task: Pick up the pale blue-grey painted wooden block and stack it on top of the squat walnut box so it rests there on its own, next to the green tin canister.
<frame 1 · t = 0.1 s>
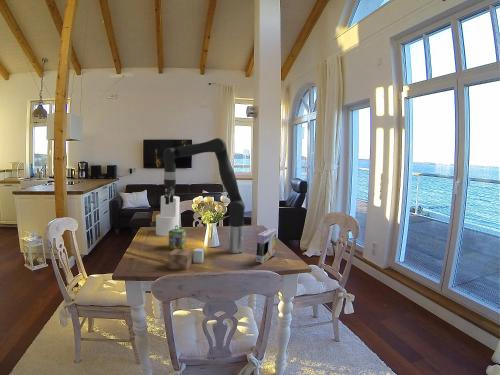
hand: (169, 203, 212), 29 cm above the table, fingers open, 8 cm apart
green tin canister: (177, 247, 215), on the table
walnut box: (180, 266, 180), on the table
block: (198, 261, 190), on the table
cake pan box: (265, 260, 198), on the table
white stepped tower: (167, 233, 250), on the table
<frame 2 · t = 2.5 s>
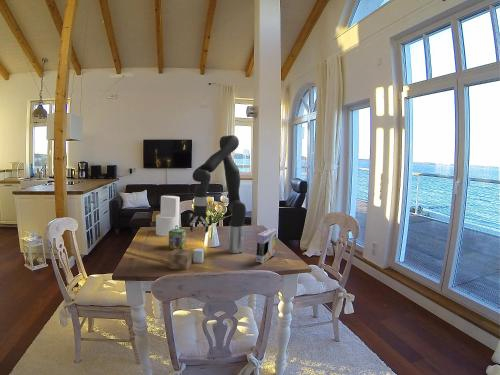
hand: (199, 231, 188), 17 cm above the table, fingers open, 8 cm apart
nothing on the table moved.
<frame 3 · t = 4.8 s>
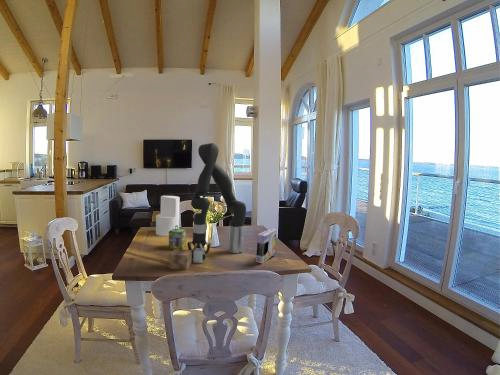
hand: (198, 259, 190), 1 cm above the table, fingers closed on block, 5 cm apart
block: (198, 261, 190), on the table, touching gripper
everything else where it was.
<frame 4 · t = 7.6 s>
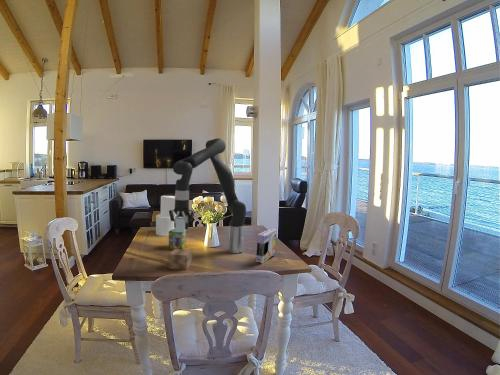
hand: (181, 228, 178), 21 cm above the table, fingers closed on block, 5 cm apart
block: (181, 230, 178), point 20 cm above the table, touching gripper
everything else where it was.
when the fingers open (10 cm above the table, at t = 10.4 s): block stays where it is, resting on walnut box.
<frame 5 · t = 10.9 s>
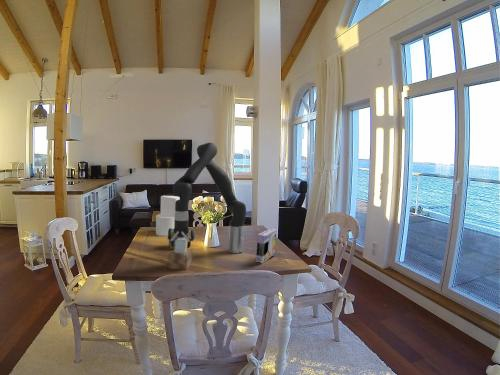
hand: (180, 247, 179), 11 cm above the table, fingers open, 8 cm apart
block: (180, 252, 180), point 8 cm above the table, touching walnut box
everything else where it was.
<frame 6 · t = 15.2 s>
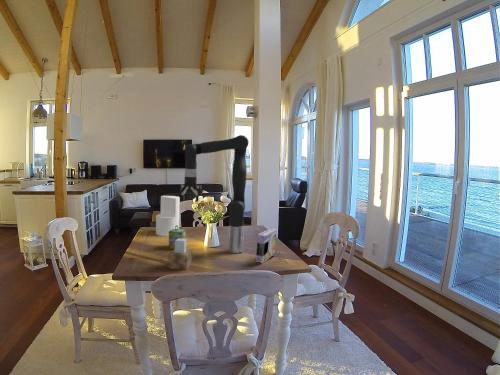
hand: (189, 201, 206), 32 cm above the table, fingers open, 8 cm apart
nothing on the table moved.
at the end: block inside the target area on the walnut box (0.1 cm from its centre), point 8.0 cm above the walnut box's base; block tilted 0°; the gripper is holding nothing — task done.
